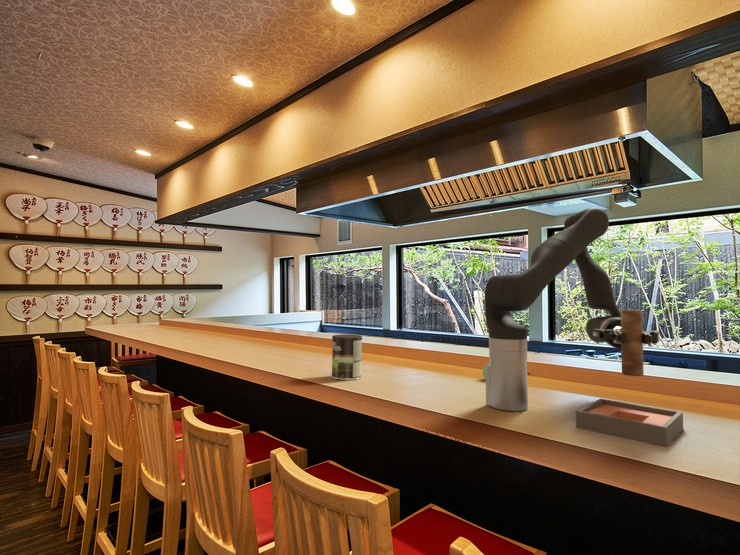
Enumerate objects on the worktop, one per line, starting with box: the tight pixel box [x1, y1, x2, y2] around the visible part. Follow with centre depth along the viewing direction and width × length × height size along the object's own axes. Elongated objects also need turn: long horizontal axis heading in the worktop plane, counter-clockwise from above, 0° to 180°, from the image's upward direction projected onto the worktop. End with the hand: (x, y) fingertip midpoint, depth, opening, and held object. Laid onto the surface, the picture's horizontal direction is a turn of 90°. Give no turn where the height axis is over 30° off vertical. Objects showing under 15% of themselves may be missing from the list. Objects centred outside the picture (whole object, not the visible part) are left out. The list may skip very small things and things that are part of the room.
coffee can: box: [331, 334, 363, 381], centre depth 142 cm, size 10×10×14 cm
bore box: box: [575, 398, 684, 448], centre depth 89 cm, size 16×16×4 cm
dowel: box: [620, 309, 645, 377], centre depth 92 cm, size 4×4×14 cm
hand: (635, 338), depth 89 cm, fingers closed on dowel, 4 cm apart
